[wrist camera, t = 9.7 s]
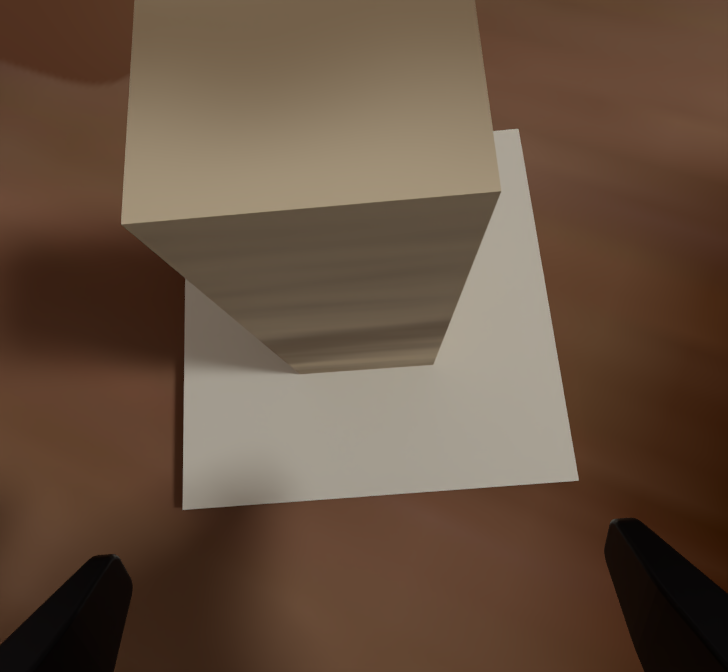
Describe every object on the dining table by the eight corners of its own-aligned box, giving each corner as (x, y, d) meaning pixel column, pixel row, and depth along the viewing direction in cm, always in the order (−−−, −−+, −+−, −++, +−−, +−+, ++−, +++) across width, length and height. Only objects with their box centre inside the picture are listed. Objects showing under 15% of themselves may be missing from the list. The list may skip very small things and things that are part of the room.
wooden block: (433, 364, 18) (501, 191, 6) (299, 374, 19) (120, 224, 7) (421, 238, 20) (459, -111, 8) (296, 248, 20) (139, -74, 8)
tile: (572, 479, 18) (578, 480, 17) (189, 508, 18) (182, 509, 18) (515, 137, 21) (518, 128, 21) (192, 171, 22) (186, 164, 21)
